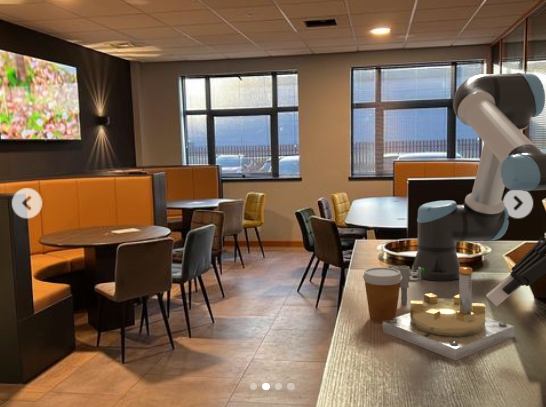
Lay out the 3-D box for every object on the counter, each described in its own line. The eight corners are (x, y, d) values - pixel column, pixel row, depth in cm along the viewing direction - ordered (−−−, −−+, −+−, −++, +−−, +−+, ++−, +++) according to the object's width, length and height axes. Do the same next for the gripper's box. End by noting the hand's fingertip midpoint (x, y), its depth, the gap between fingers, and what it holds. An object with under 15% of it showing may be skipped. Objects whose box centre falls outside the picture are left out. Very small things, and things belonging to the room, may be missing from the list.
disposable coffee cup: (379, 328, 123) (379, 279, 121) (355, 317, 131) (354, 270, 130) (410, 321, 127) (410, 273, 126) (385, 310, 136) (385, 265, 134)
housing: (439, 313, 132) (440, 302, 131) (514, 336, 115) (514, 324, 115) (382, 331, 121) (382, 319, 121) (455, 360, 104) (455, 346, 104)
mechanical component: (424, 305, 138) (424, 268, 137) (384, 304, 140) (384, 268, 139) (423, 302, 141) (423, 265, 140) (384, 301, 143) (384, 265, 142)
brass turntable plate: (441, 306, 129) (441, 250, 127) (500, 324, 115) (501, 262, 114) (395, 320, 120) (395, 260, 118) (453, 341, 107) (454, 275, 105)
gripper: (560, 204, 110) (474, 279, 116) (579, 214, 97) (482, 297, 103) (587, 230, 109) (499, 303, 115) (610, 242, 96) (510, 324, 103)
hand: (491, 300), depth 109 cm, fingers closed
